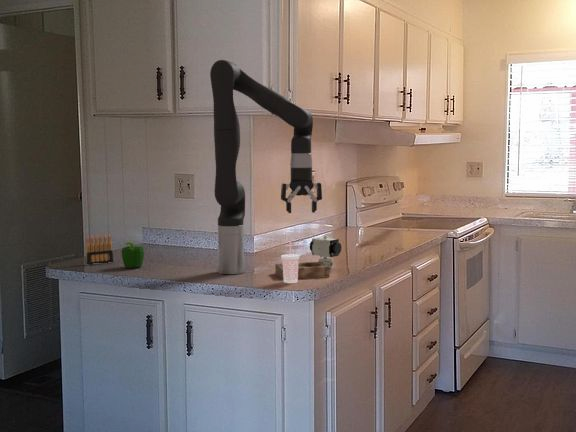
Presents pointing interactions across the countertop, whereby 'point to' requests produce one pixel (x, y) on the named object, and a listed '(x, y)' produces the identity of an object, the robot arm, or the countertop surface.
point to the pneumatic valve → (325, 249)
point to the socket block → (306, 270)
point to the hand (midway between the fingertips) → (301, 212)
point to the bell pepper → (132, 256)
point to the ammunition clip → (99, 250)
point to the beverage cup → (290, 267)
